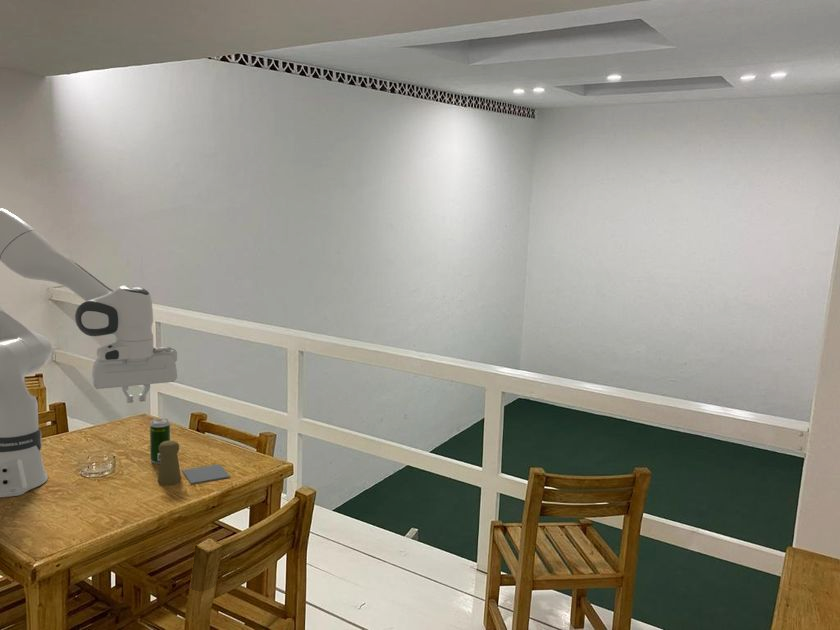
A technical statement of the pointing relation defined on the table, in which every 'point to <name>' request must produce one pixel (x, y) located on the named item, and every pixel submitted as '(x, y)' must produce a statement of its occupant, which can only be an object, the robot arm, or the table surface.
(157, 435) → the beer can
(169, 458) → the cork
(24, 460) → the robot arm
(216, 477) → the mat
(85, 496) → the table surface
